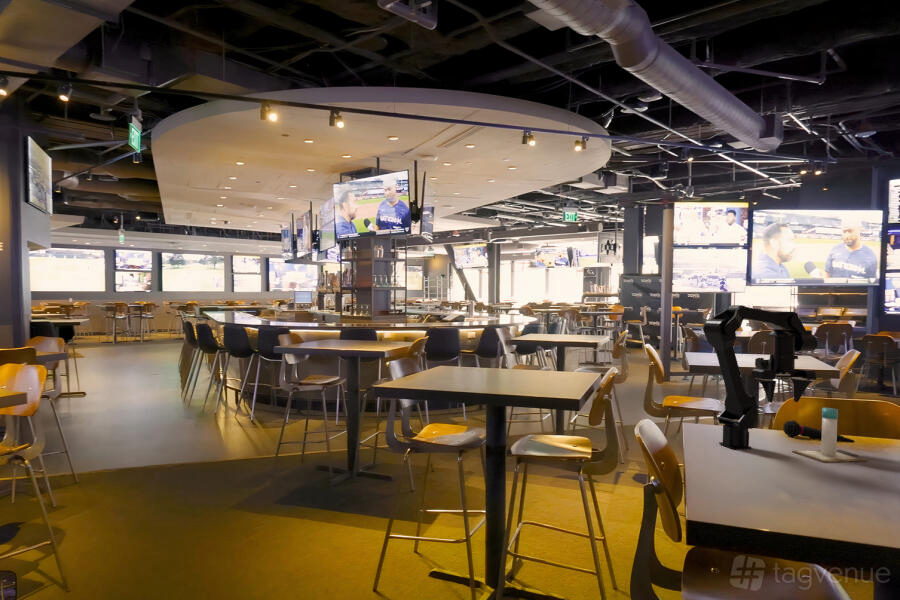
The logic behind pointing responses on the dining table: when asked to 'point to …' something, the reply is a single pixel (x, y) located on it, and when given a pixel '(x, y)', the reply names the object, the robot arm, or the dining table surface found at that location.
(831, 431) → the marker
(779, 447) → the dining table surface
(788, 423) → the microphone
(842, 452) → the clipboard
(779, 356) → the robot arm
